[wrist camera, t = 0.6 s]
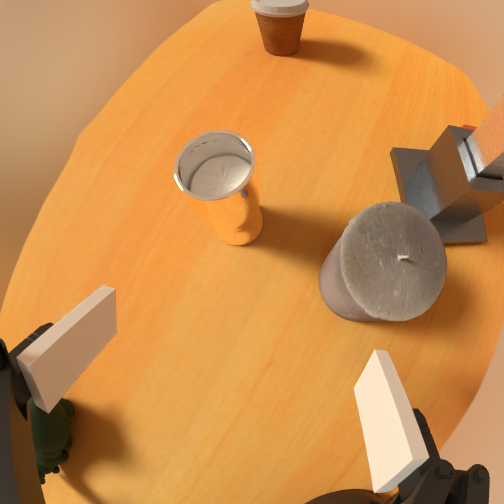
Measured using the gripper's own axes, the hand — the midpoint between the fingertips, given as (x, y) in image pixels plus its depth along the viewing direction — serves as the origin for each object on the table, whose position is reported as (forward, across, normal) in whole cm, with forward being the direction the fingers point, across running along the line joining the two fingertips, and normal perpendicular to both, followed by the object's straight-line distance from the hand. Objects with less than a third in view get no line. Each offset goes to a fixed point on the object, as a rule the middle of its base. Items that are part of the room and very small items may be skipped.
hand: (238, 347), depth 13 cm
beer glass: (+24, +4, 0) cm, 25 cm away
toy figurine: (+6, +25, +36) cm, 44 cm away
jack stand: (+27, -24, -10) cm, 37 cm away
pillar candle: (+21, -12, +3) cm, 24 cm away
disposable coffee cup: (+42, +5, -31) cm, 53 cm away
